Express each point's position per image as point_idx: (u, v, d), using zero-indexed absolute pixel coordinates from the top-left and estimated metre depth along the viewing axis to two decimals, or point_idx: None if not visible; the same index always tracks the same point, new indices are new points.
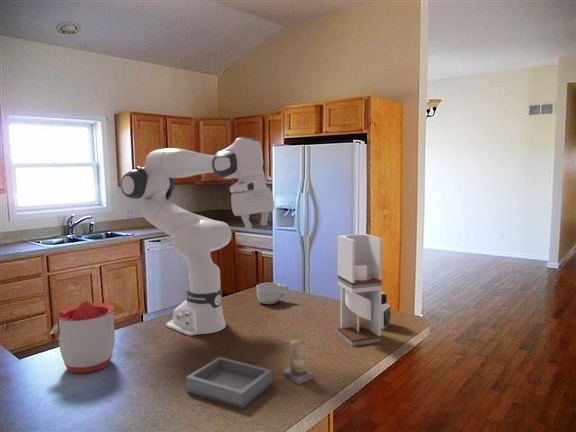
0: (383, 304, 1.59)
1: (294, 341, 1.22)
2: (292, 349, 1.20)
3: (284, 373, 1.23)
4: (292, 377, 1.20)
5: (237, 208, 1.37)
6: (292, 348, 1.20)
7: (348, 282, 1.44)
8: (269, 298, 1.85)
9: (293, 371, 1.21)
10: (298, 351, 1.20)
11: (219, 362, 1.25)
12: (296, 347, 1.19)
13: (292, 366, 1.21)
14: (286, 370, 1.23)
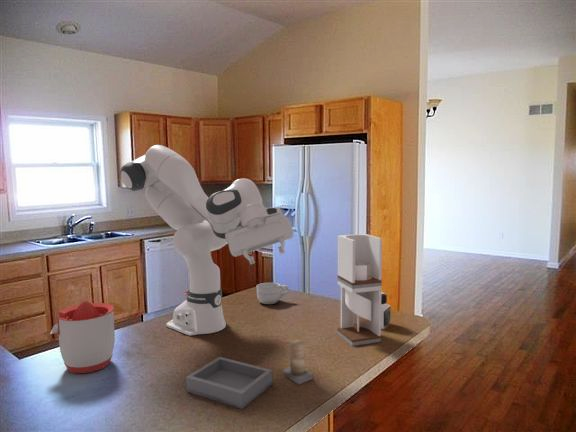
0: (383, 304, 1.59)
1: (294, 341, 1.22)
2: (292, 349, 1.20)
3: (284, 373, 1.23)
4: (292, 377, 1.20)
5: None
6: (292, 348, 1.20)
7: (348, 282, 1.44)
8: (269, 298, 1.85)
9: (293, 371, 1.21)
10: (298, 351, 1.20)
11: (219, 362, 1.25)
12: (296, 347, 1.19)
13: (292, 366, 1.21)
14: (286, 370, 1.23)
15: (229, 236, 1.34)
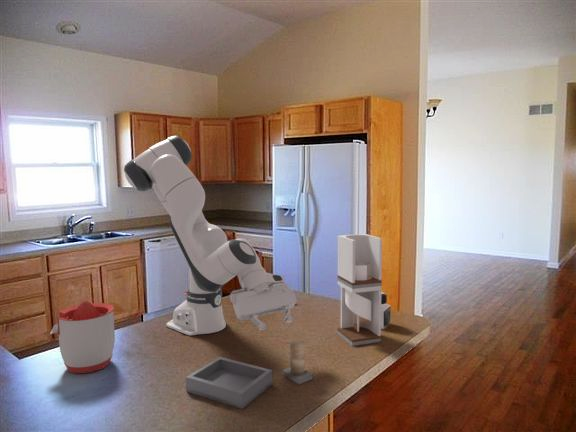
0: (383, 304, 1.59)
1: (294, 341, 1.22)
2: (292, 349, 1.20)
3: (284, 373, 1.23)
4: (292, 377, 1.20)
5: None
6: (292, 348, 1.20)
7: (348, 282, 1.44)
8: None
9: (293, 371, 1.21)
10: (298, 351, 1.20)
11: (219, 362, 1.25)
12: (296, 347, 1.19)
13: (292, 366, 1.21)
14: (286, 370, 1.23)
15: (238, 297, 1.25)
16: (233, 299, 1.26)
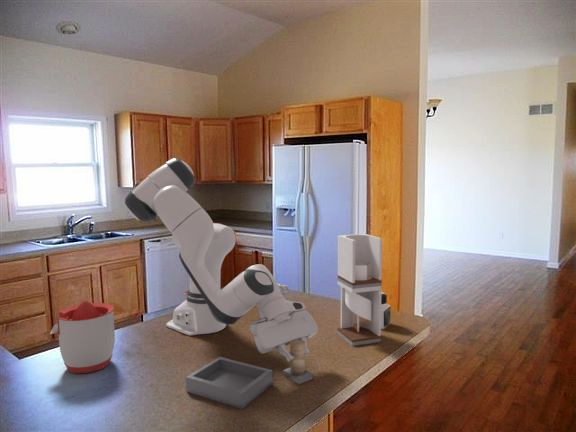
0: (383, 304, 1.59)
1: (294, 341, 1.22)
2: (292, 349, 1.20)
3: (284, 373, 1.23)
4: (292, 377, 1.20)
5: None
6: (292, 348, 1.20)
7: (348, 282, 1.44)
8: None
9: (293, 371, 1.21)
10: (298, 351, 1.20)
11: (219, 362, 1.25)
12: (296, 347, 1.19)
13: (292, 366, 1.21)
14: (286, 370, 1.23)
15: (259, 329, 1.19)
16: (254, 331, 1.20)
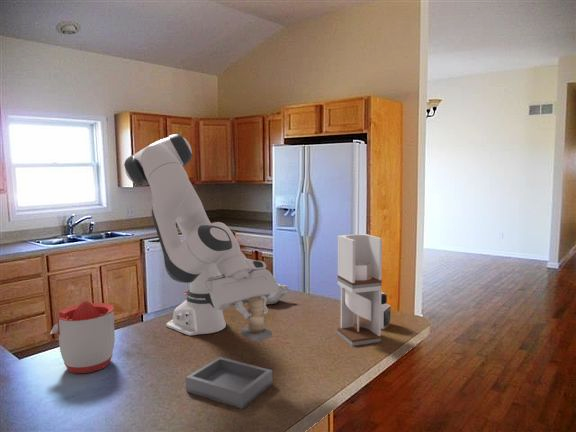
0: (383, 304, 1.59)
1: (253, 298, 1.17)
2: (250, 306, 1.15)
3: (242, 332, 1.18)
4: (250, 335, 1.15)
5: None
6: (250, 305, 1.15)
7: (348, 282, 1.44)
8: (269, 298, 1.85)
9: (251, 329, 1.16)
10: (256, 308, 1.15)
11: (219, 362, 1.25)
12: (254, 304, 1.15)
13: (250, 324, 1.16)
14: (244, 329, 1.18)
15: (215, 285, 1.14)
16: (209, 286, 1.15)
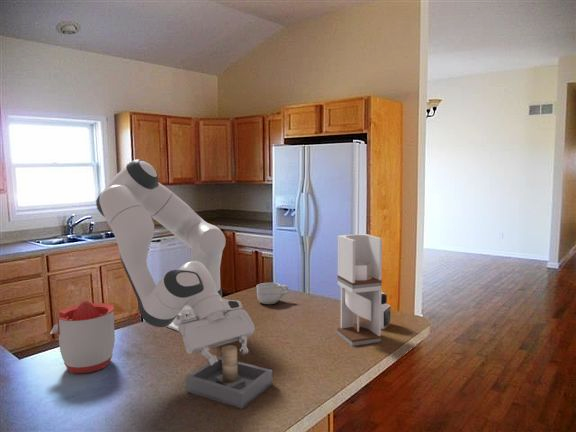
0: (383, 304, 1.59)
1: (226, 346, 1.16)
2: (223, 355, 1.14)
3: (216, 380, 1.17)
4: (223, 384, 1.14)
5: None
6: (223, 354, 1.14)
7: (348, 282, 1.44)
8: (269, 298, 1.85)
9: (224, 378, 1.15)
10: (229, 357, 1.14)
11: (219, 362, 1.25)
12: (227, 353, 1.14)
13: (223, 373, 1.15)
14: (219, 377, 1.17)
15: (187, 329, 1.13)
16: (182, 330, 1.14)
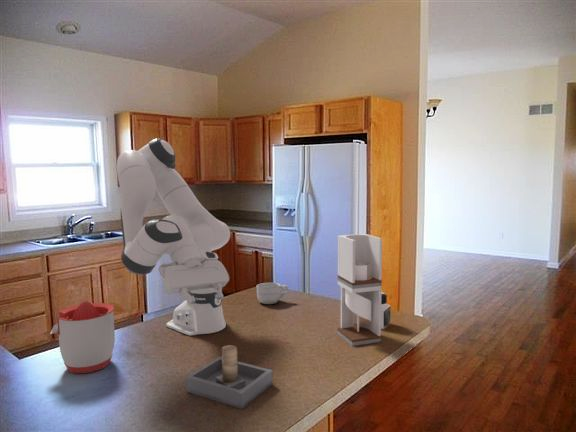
0: (383, 304, 1.59)
1: (226, 346, 1.16)
2: (223, 355, 1.14)
3: (216, 380, 1.17)
4: (223, 384, 1.14)
5: None
6: (223, 354, 1.14)
7: (348, 282, 1.44)
8: (269, 298, 1.85)
9: (224, 378, 1.15)
10: (229, 357, 1.14)
11: (219, 362, 1.25)
12: (227, 353, 1.14)
13: (223, 373, 1.15)
14: (219, 377, 1.17)
15: (167, 270, 1.21)
16: (162, 272, 1.21)
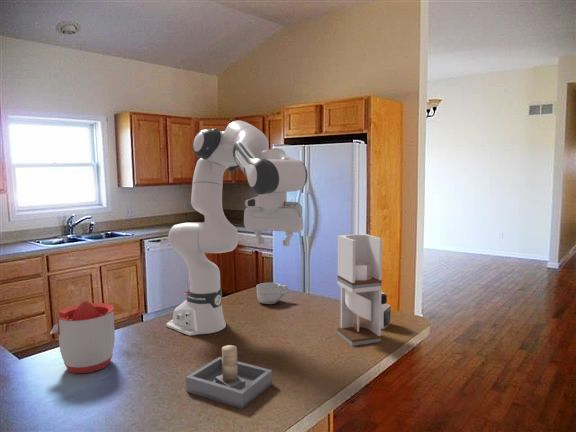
0: (383, 304, 1.59)
1: (226, 346, 1.16)
2: (223, 355, 1.14)
3: (216, 380, 1.17)
4: (223, 384, 1.14)
5: None
6: (223, 354, 1.14)
7: (348, 282, 1.44)
8: (269, 298, 1.85)
9: (224, 378, 1.15)
10: (229, 357, 1.14)
11: (219, 362, 1.25)
12: (227, 353, 1.14)
13: (223, 373, 1.15)
14: (219, 377, 1.17)
15: None
16: None
